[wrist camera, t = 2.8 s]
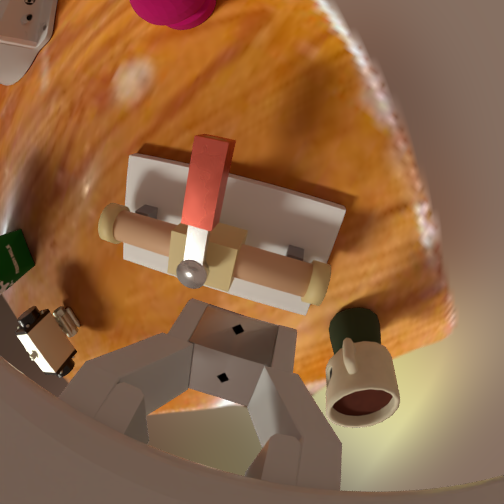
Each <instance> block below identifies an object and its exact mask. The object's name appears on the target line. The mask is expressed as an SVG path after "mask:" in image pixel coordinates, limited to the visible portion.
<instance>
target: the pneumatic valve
mask: <svg viewBox="0 0 504 504" xmlns="http://www.w3.org/2000/svg"><path fill="white" fill-rule="evenodd" d="M53 315H54V316H55V317H53V316H52V314H51V313H50V311H49V309H45V310H41V311H39V310H38V309H37V307H36V306H33V307H31V308H29V309H28V310H27V311H25V312H24V313H23V314H22V315H21V316H20V317H19V318H18V319H17V321H18V323H19V325H20V326H21V327H20V326H18V330H17V331H16V332H15V334H16V335H17V336H18V338H19V339H20V341H21V342H22V344H23V345H24V347H25V348H26V351H28V352H29V354H30V358H31V359H32V360H35V362H36V363H37V364H38V366H39V367H40V368H41V370H42V371H43V372H44V373H45V374H48V375H56V376H57V377H63V376H65V375H67V374H68V373H69V372H70V371H71V370H72V369H73V367H74V365H75V363H74V361H73V360H72V358H74V357H75V356H74V355H75V354H76V352H77V351H76V350H75V348H74V347H73V345H72V344H71V343H70V341H69V340H68V338H67V337H66V336H68V337H73V336H74V335H76V334H77V332H78V328H77V327H80V322H79V321H78V319H77V318H76V316H75V315H74V313H73V311H72V310H71V308H69V307H68V308H67V309H66V310H65V308H64V307H63V306H60V307H59V308H57V309H56V310H55V311H54V312H53ZM66 334H67V335H66Z"/></svg>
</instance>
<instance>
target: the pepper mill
mask: <svg viewBox="0 0 504 504" xmlns="http://www.w3.org/2000/svg"><path fill="white" fill-rule="evenodd" d="M130 3H131V5H132V8H133V9H134V10H135V12H136V13H137V14H138V15H139V16H140V17H141V18H142V19H144V20H146V21H147V22H149V23H152V24H155V25H166V26H168V27H170V28H173V29H177V30H185V29H190V28H193V27H196V26H198V25H200V24H201V23H203V22H204V21H205V20H206V19H207V18H208V17H209V16H210V15H211V14H212V12H213V10H214V8H215V5H216V0H130Z"/></svg>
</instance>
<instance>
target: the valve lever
mask: <svg viewBox="0 0 504 504" xmlns="http://www.w3.org/2000/svg"><path fill="white" fill-rule="evenodd" d="M235 143H236V140H232V139H227V138H223V137H218V136H213V135H208V134H201V135H196V136H195V138H194V143H193V149H192V154H191V160H190V166H189V172H188V178H187V184H186V191H185V197H184V204H183V211H182V219H181V223H183V224H186V225H188V231H187V238H186V246H185V253H184V259H183V260H182V261H181V262H180V264H179V265H178V266H177V269H176V274H177V277H178V279H179V281H180V282H181V283H182V284H183V285H185V286H186V287H189V288H193V289H196V288H200V287H201V286H203V285H204V283H205V281H206V280H207V278H208V276H209V273H210V270H209V266H208V264H207V263H206V261H205V260H206V254H207V248H208V243H209V237H210V231H212V230H213V229H214V228H215V227H216V225H217V224H218V223H219V220H220V215H221V210H222V205H223V200H224V195H225V190H226V185H227V180H228V175H229V171H230V166H231V161H232V157H233V152H234V147H235Z"/></svg>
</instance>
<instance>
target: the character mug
mask: <svg viewBox="0 0 504 504" xmlns="http://www.w3.org/2000/svg"><path fill="white" fill-rule="evenodd" d="M329 334H330V340H331V344H332V348H333V352H334V356H333V357H332V358H331V359H330V360H329V362H328V364H327V366H326V381H327V390H326V416H327V418H328V419H329V420H330V421H331V422H332V423H334V424H336V425H339V426H343V427H352V428H360V427H367V426H372V425H375V424H377V423H380V422H383V421H384V420H386V419H387V418H389V417H390V416H392V415H393V414H394V412H395V411H396V410H397V409H398V407H399V402H400V396H399V390H398V385H397V380H396V375H395V370H394V366H393V361H392V357H391V355H390V353H389V351H388V350H387V349H386V347H385V346H383V345H381V333H380V324H379V321H378V317H377V315H376V314H375V313H373V312H372V311H371V310H370V309H364V308H352V309H347V310H344V311H342V312H340V313H337V314H336V315H335V317H334V318H333V319H332V320H331V322H330V327H329Z"/></svg>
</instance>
